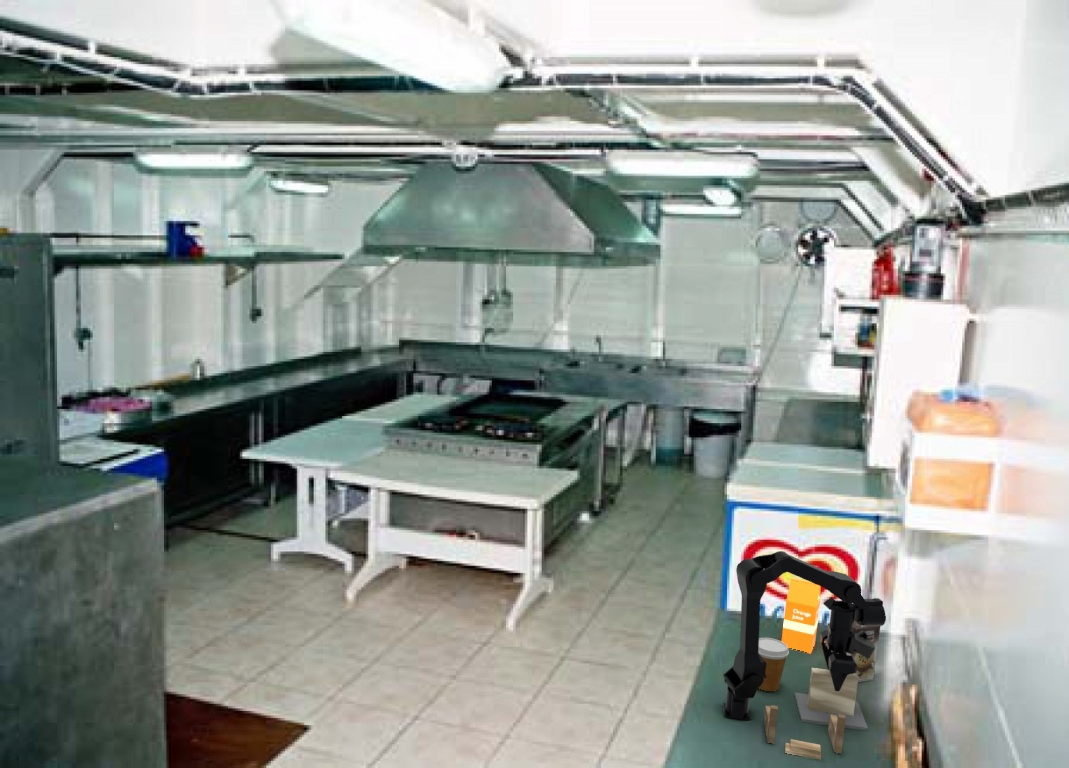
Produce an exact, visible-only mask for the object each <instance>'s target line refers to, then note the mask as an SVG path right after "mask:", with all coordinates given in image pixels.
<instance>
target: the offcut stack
mask: <svg viewBox="0 0 1069 768" xmlns="http://www.w3.org/2000/svg"><path fill="white" fill-rule="evenodd" d="M821 747H822V746H821V744H818V743H812V742H808V741H802V740H798V739H793V738H791V739H790V741H789V742H785V746H784V754H785V753H787V754H786V755H788V754H792V755H791V756H793V755H799V756H805V757H813V758H816V759H820V760H822V750H821Z"/></svg>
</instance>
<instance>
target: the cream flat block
mask: <svg viewBox="0 0 1069 768" xmlns="http://www.w3.org/2000/svg"><path fill="white" fill-rule="evenodd" d="M858 683H859V682H858V677H857V675H856V673H854V674H849V675H847V677H846V679H845V681H844V683H843V685H842V687H841V689H840V691H835V689H834V685H833V681H832V677H831V673H830V670H828V669H824V668H817V667H811V672H810V680H809V686H808V687H809V689H808V702H807V704H808V708H809V710H816V711H824V712H831V713H838V714H846V715H854V707H855V701H857V700H856V697H857V691H858Z"/></svg>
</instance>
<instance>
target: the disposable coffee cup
mask: <svg viewBox="0 0 1069 768" xmlns="http://www.w3.org/2000/svg"><path fill="white" fill-rule="evenodd" d="M789 650H790V649H789V648H788V647H787V645H786V644H785V643H784V642H782V640H779V639H777V638H771V637H759V650H758V653H759V654H760V655H761V656H762V658H763V659H764V660H765V661H766V670H765V674H766V677H767V678H764V681H763V684H762V685H761V686H760V687H759V689H758V690H760V689H761V690H760V691H762V690H765V691H764V692H766V691H775V692H777V691H778V690H779V688H780V684H781V679H782V677H783V671H784V669H785V668H784V667H785V665H786V662H787V657H789V653H790V651H789ZM776 690H777V691H776Z"/></svg>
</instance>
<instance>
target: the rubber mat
mask: <svg viewBox="0 0 1069 768" xmlns="http://www.w3.org/2000/svg"><path fill="white" fill-rule="evenodd" d="M808 694H809V693H808ZM808 694H807V693H803V692H802V693H801V692H794V698H795V703H796V707H797V710H798V713H799V714H798V715H799V718H800V722H801V723H809V724H814V725H815V724H816V725H821V726H828V727H829V719H830V714H831V715H836V716H837V719H838V713H831V712H824V711H816V710H809V708H808V704H807V702H808ZM839 715H845V718H846V721H845V729H850V730H852V729H853V730H859V731H866V732H868V729H869V727H868V724H867V723H866V719H865V717H864V715H863V712H862V709H861V706H860V705H859V701H858V700H855V707H854V715H846V714H839Z"/></svg>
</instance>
